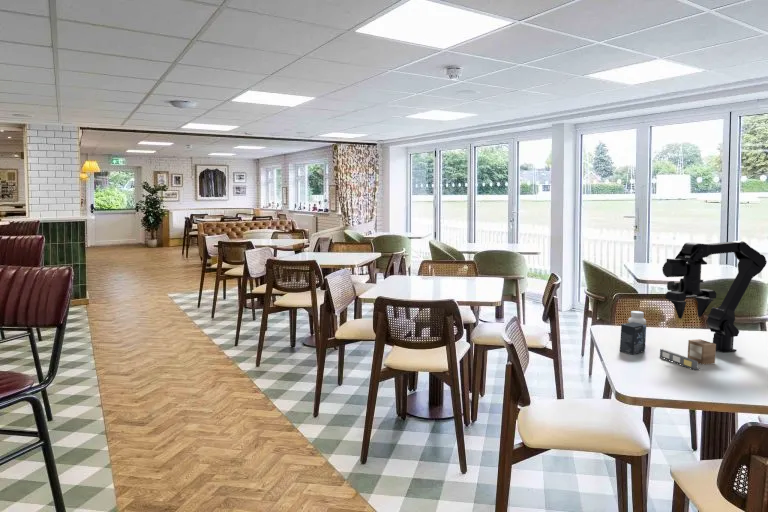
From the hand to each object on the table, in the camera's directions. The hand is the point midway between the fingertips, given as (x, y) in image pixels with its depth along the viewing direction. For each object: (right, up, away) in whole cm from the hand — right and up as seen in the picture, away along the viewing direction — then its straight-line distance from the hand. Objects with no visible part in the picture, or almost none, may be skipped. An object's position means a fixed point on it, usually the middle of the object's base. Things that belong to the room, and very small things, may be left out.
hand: (689, 317), depth 213 cm
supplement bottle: (-15, -12, +12) cm, 22 cm away
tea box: (-2, -14, -11) cm, 18 cm away
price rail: (-12, -14, -14) cm, 23 cm away
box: (-21, -13, +1) cm, 25 cm away
